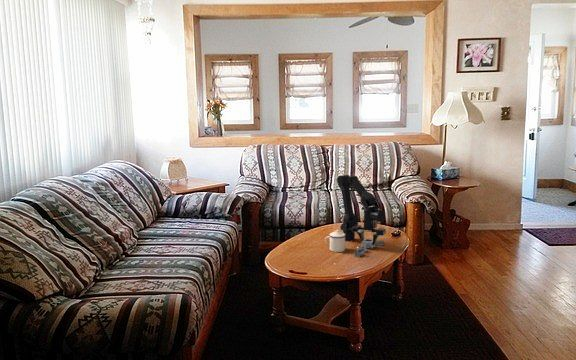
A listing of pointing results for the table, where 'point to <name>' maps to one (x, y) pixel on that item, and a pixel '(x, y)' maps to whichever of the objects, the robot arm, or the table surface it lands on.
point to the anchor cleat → (358, 252)
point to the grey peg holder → (379, 242)
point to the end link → (368, 243)
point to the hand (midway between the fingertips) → (368, 244)
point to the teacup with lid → (336, 241)
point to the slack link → (363, 249)
